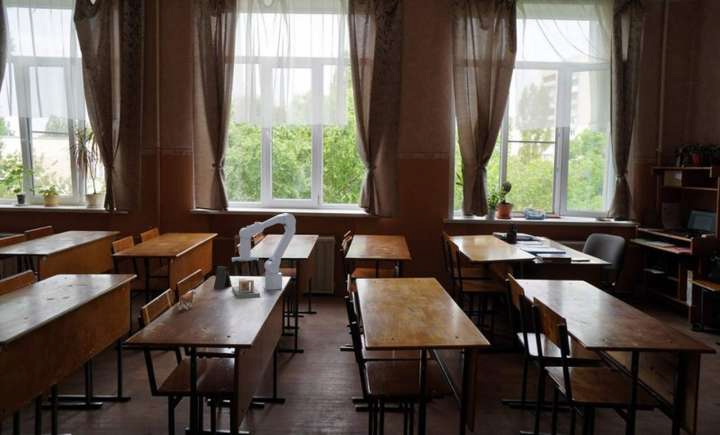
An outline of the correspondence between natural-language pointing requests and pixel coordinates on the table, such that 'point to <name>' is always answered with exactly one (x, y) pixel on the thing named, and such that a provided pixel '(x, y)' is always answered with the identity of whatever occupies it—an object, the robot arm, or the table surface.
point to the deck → (245, 292)
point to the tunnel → (246, 282)
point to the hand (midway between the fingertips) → (245, 273)
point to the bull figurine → (187, 298)
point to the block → (244, 284)
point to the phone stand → (222, 278)
